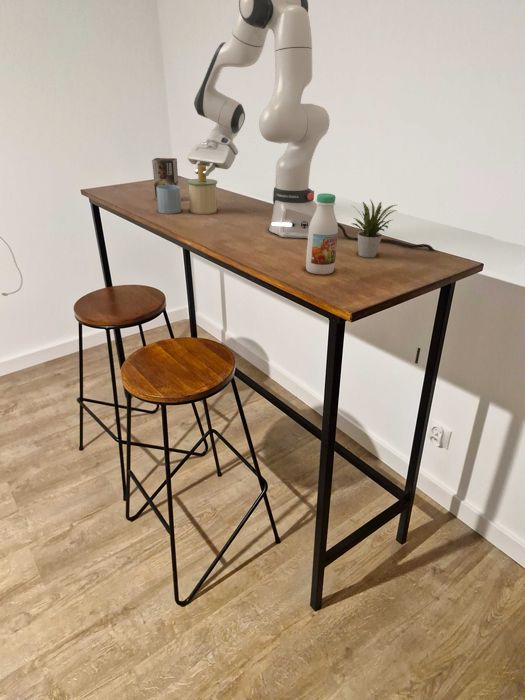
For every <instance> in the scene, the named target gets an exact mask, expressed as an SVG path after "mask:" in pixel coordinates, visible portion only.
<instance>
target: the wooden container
mask: <svg viewBox="0 0 525 700" xmlns="http://www.w3.org/2000/svg"><path fill="white" fill-rule="evenodd" d="M188 198H189V212H190V213H192V214H197V215H211V214H214V213H216V212H217V210H218V204H217V203H218V202H217V201H218V200H217V199H218V198H217V184H215V185H208V186H198V185H190V184H188Z"/></svg>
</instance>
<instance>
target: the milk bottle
mask: <svg viewBox="0 0 525 700" xmlns="http://www.w3.org/2000/svg"><path fill="white" fill-rule="evenodd" d="M335 202H336V195H335V194H333V193H326V192H325V193H324V192H323V193H318V194H317V196H316V204H317V209H316V212H315V214H314V216H313V218H312V220H311V222H310V226H309V233H308V238H307V245H306V257H305V258H306V260H305V270H306V271H307V272H308V273H310V274H315V275H330V274H332V273H333V272H334V271H335V266H336V265H335V264H336V255H337V245H338V236H339V235H338V233H339V227H338V224H337V223H338V220H337V217H336V214H335V209H334V206H335V205H336V203H335Z"/></svg>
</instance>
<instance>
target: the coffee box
mask: <svg viewBox="0 0 525 700" xmlns="http://www.w3.org/2000/svg"><path fill="white" fill-rule="evenodd" d="M151 164H152V175H153V184H154V185H153V186H154V195H155V201H157V191H156V187H157V186H161V185H176V186H179V187H180V185H179V172H178V158H172V157H155V158H153V159H152V160H151Z"/></svg>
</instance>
